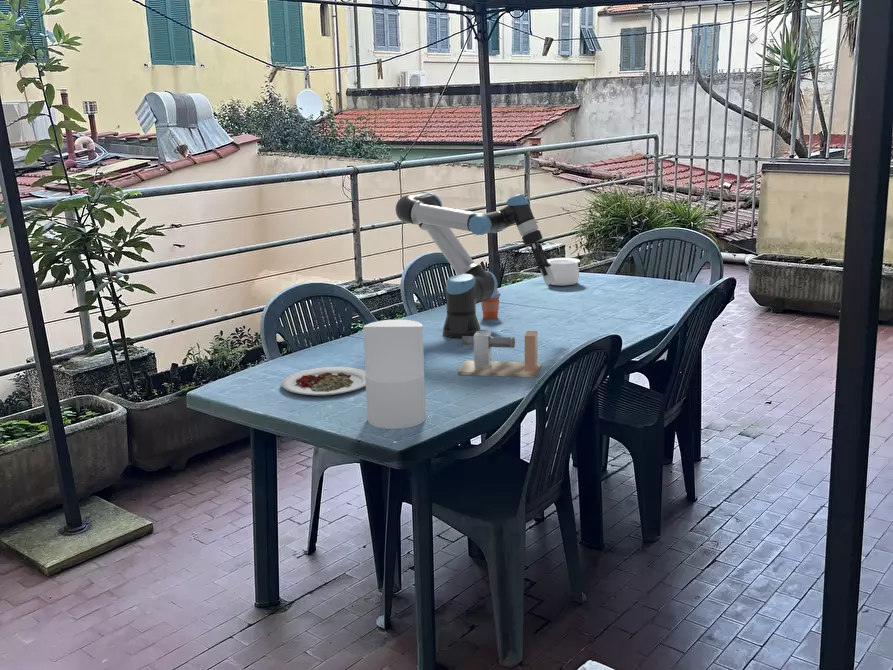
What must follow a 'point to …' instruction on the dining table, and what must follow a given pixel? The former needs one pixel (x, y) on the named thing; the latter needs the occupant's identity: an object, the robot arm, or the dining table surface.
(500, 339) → the rod
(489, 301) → the cup with straw
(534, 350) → the tan upright block
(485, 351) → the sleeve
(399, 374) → the cylinder
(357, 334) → the dining table surface
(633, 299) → the dining table surface
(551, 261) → the pot
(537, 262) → the robot arm
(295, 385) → the plated food
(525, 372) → the base board
